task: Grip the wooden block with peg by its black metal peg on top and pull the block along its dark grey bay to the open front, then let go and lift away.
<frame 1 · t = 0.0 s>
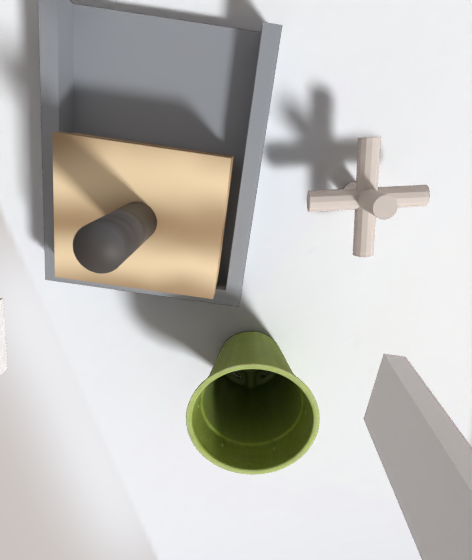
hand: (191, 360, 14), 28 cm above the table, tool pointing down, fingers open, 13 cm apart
bay: (161, 163, 38), on the table
wooden block with peg: (132, 224, 31), point 9 cm above the table, slide at 0.0 cm
pipe connector: (351, 191, 39), on the table
plant pot: (251, 356, 46), on the table
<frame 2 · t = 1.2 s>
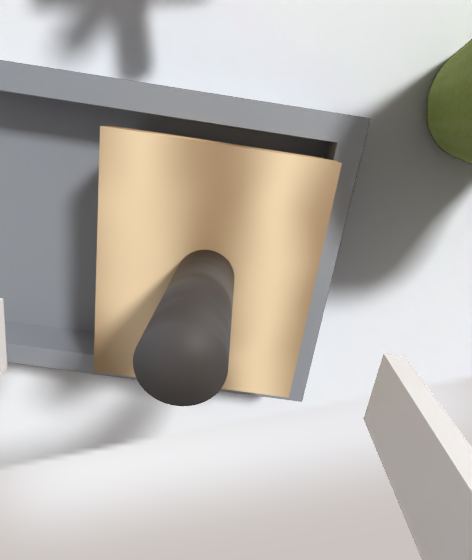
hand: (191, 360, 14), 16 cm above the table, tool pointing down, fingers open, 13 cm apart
bay: (158, 234, 29), on the table
wooden block with peg: (202, 287, 20), point 9 cm above the table, slide at 0.0 cm
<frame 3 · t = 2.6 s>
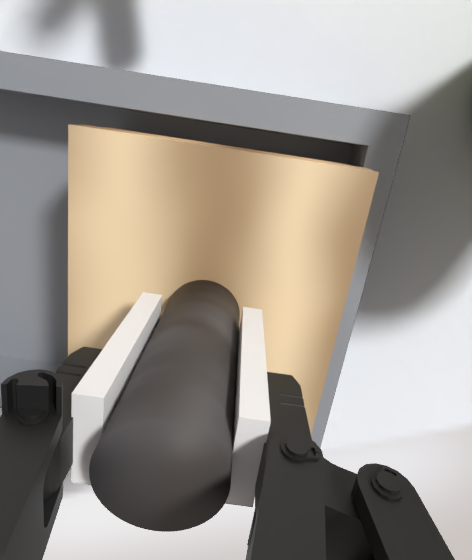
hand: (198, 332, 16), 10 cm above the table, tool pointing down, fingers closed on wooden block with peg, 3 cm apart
bay: (150, 253, 25), on the table
wooden block with peg: (199, 329, 16), point 9 cm above the table, slide at 0.0 cm, touching gripper
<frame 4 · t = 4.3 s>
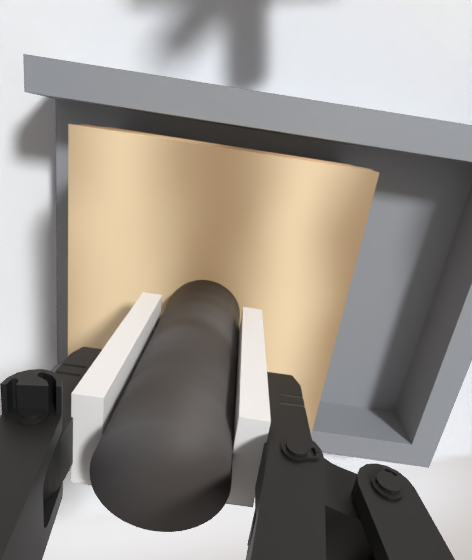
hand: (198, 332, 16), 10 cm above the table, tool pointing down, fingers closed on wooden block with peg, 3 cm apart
bay: (257, 268, 25), on the table
wooden block with peg: (199, 329, 16), point 9 cm above the table, slide at 6.8 cm, touching gripper
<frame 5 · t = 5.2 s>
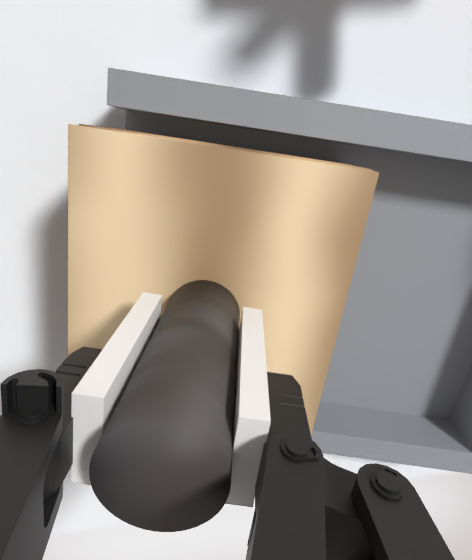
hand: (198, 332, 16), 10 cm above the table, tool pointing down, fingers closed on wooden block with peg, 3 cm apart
bay: (315, 277, 25), on the table
wooden block with peg: (199, 329, 16), point 9 cm above the table, slide at 10.5 cm, touching gripper
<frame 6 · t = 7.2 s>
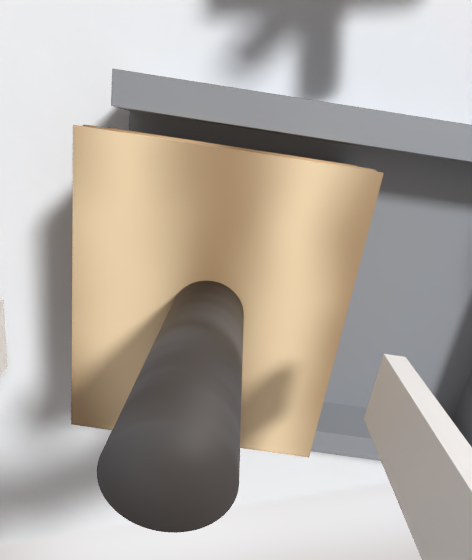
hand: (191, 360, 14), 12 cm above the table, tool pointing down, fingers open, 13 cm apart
bay: (318, 277, 25), on the table
wooden block with peg: (203, 329, 16), point 9 cm above the table, slide at 10.5 cm
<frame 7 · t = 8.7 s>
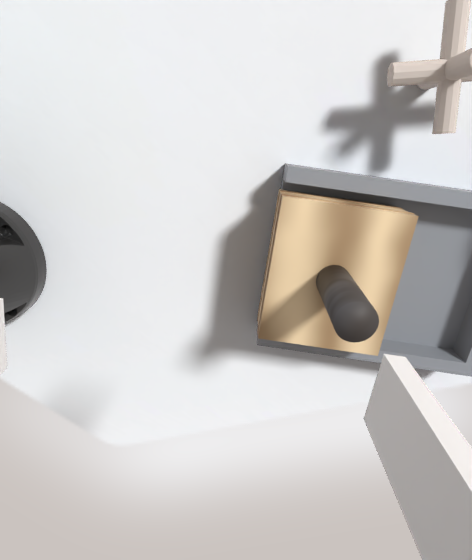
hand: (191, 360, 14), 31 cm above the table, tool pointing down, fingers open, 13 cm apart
bay: (376, 266, 44), on the table
wooden block with peg: (336, 286, 35), point 9 cm above the table, slide at 10.5 cm
pipe connector: (425, 79, 38), on the table
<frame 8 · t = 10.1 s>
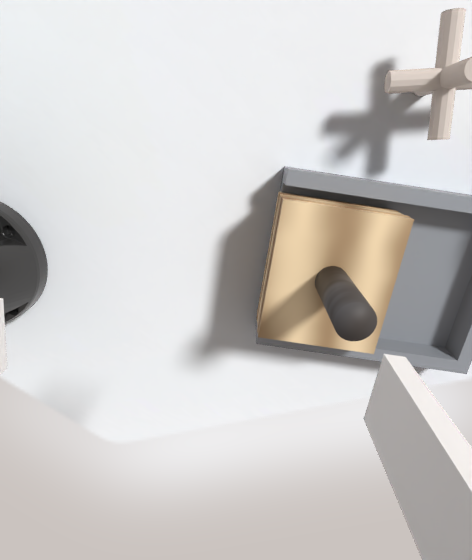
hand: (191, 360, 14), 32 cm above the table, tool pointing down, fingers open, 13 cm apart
bay: (372, 267, 45), on the table
wooden block with peg: (334, 287, 36), point 9 cm above the table, slide at 10.5 cm
pipe connector: (420, 86, 39), on the table
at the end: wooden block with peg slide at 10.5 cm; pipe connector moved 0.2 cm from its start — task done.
